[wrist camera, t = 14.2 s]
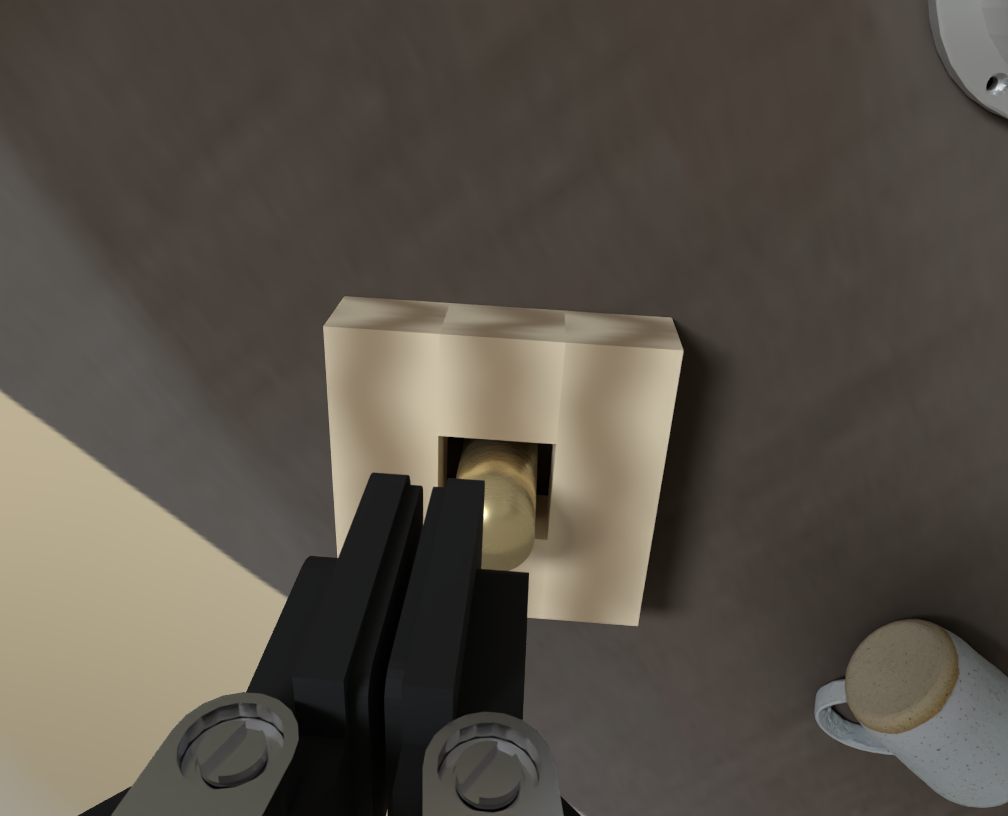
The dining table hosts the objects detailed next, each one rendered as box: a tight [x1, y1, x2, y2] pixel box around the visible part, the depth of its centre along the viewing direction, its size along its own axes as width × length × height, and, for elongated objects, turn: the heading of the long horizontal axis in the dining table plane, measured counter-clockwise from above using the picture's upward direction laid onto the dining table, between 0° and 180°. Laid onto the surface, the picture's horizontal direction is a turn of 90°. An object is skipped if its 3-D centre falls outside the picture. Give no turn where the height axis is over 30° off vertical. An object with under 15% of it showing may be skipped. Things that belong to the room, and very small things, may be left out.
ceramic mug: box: [815, 619, 1008, 808], centre depth 45 cm, size 11×8×8 cm
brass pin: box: [456, 438, 538, 571], centre depth 39 cm, size 4×4×8 cm
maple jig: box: [323, 296, 684, 626], centre depth 41 cm, size 16×16×4 cm
